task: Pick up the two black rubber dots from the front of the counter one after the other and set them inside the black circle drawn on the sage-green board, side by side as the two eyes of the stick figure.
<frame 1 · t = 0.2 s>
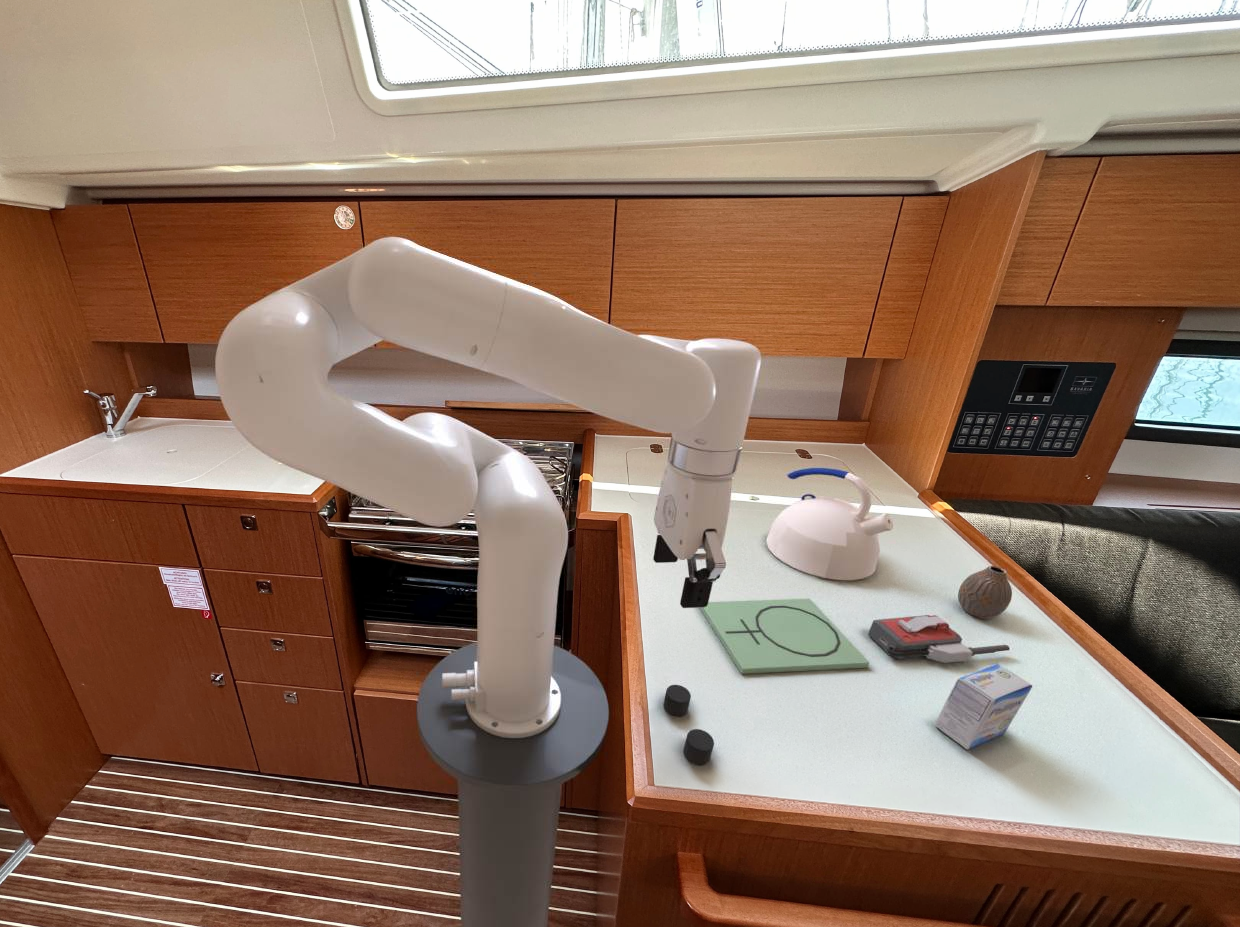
hand: (678, 582, 70), 18 cm above the worktop, tool pointing down, fingers open, 9 cm apart
drawing board: (777, 635, 90), on the worktop
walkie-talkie: (931, 646, 89), on the worktop
kettle: (819, 554, 114), on the worktop
medicine box: (967, 730, 74), on the worktop
eye dot b: (675, 707, 76), on the worktop
eye dot a: (696, 754, 69), on the worktop
vase: (975, 612, 98), on the worktop
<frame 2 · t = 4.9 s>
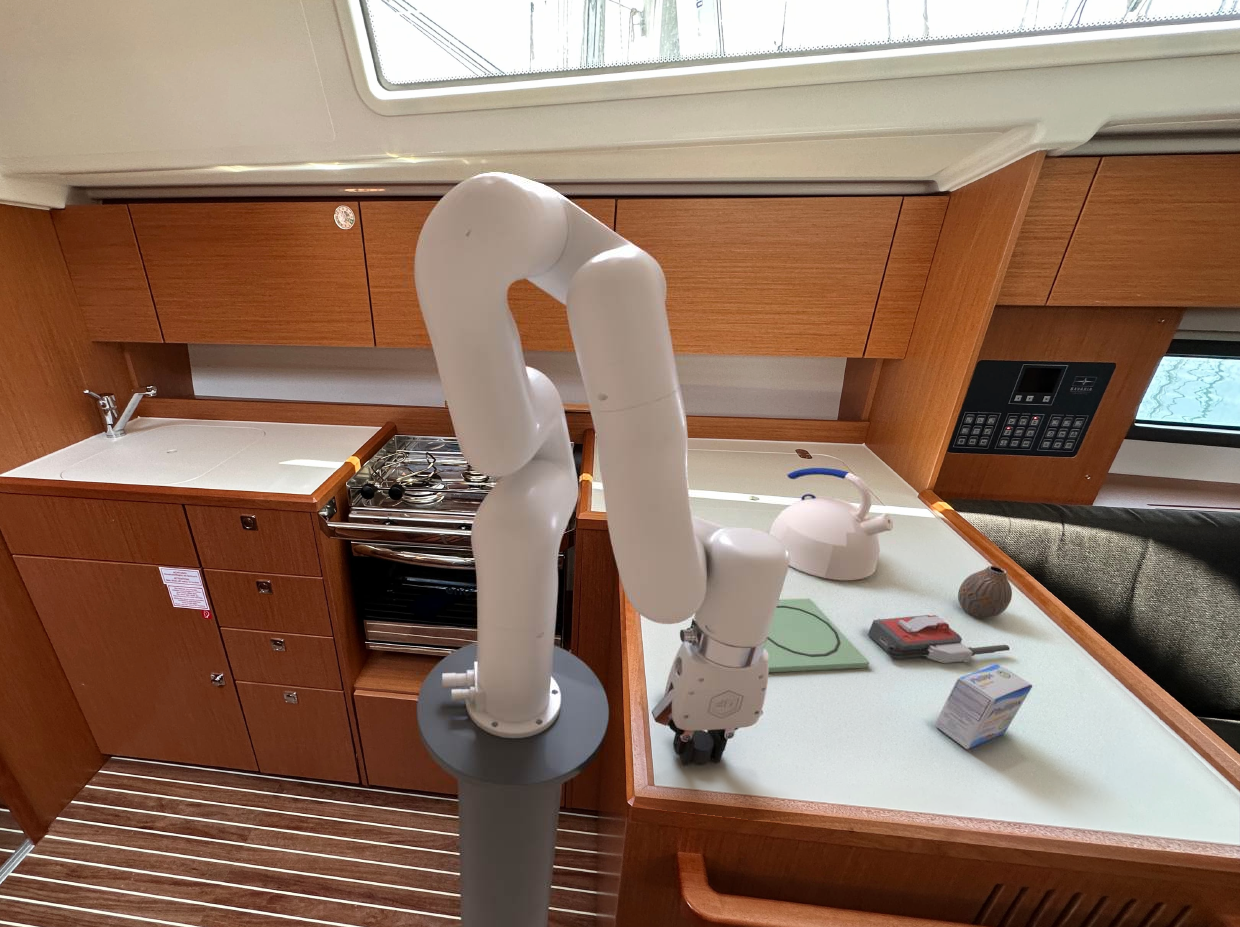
hand: (697, 753, 69), 0 cm above the worktop, tool pointing down, fingers closed on eye dot a, 3 cm apart
eye dot a: (696, 754, 69), on the worktop, touching gripper
everything else where it was.
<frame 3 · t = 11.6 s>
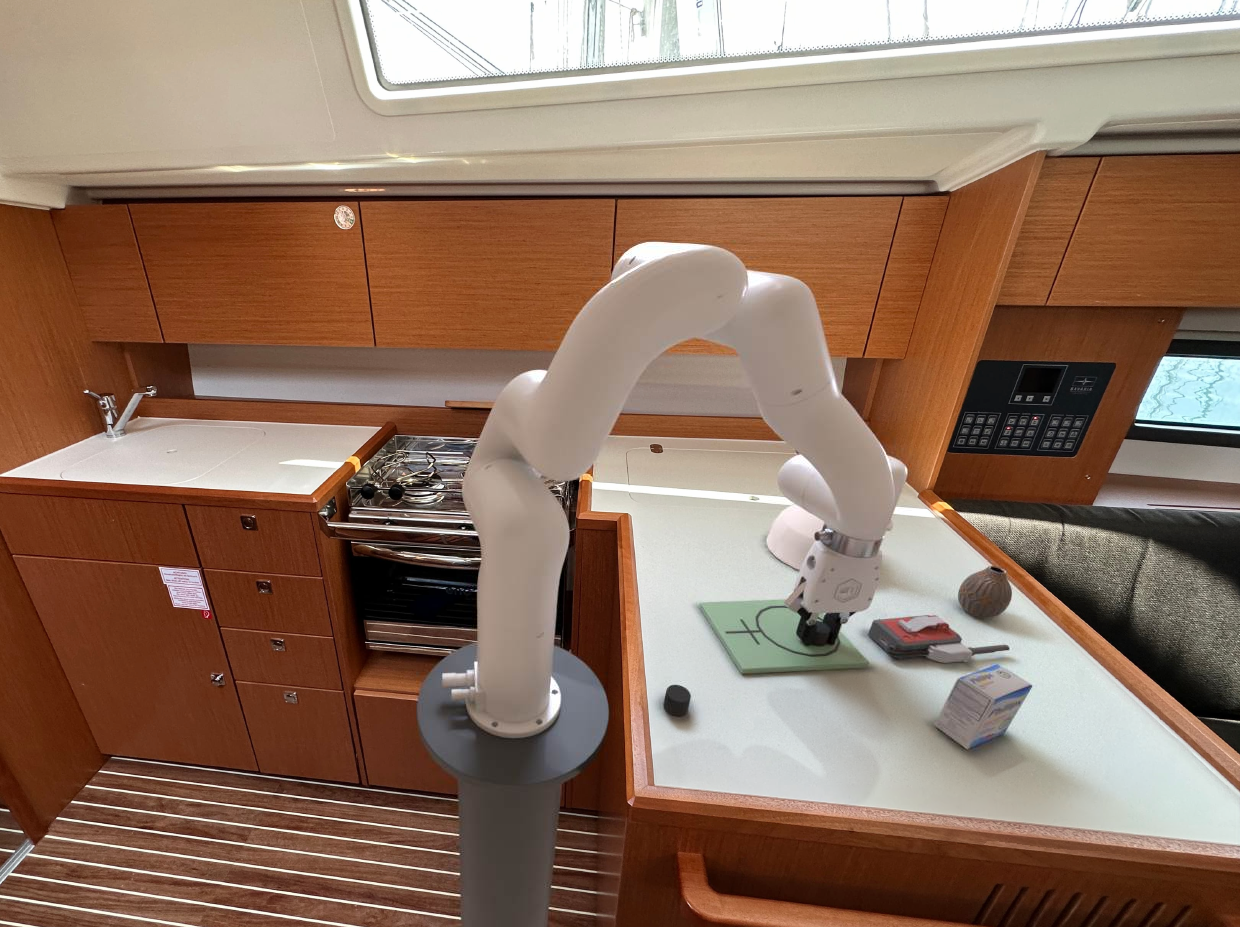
hand: (814, 638, 88), 1 cm above the worktop, tool pointing down, fingers closed on eye dot a, 3 cm apart
eye dot a: (814, 639, 88), point 1 cm above the worktop, touching gripper
everything else where it was.
when the fingers open (2 cm above the worktop, at t = 16.0 s): eye dot a drops 1 cm, resting on drawing board.
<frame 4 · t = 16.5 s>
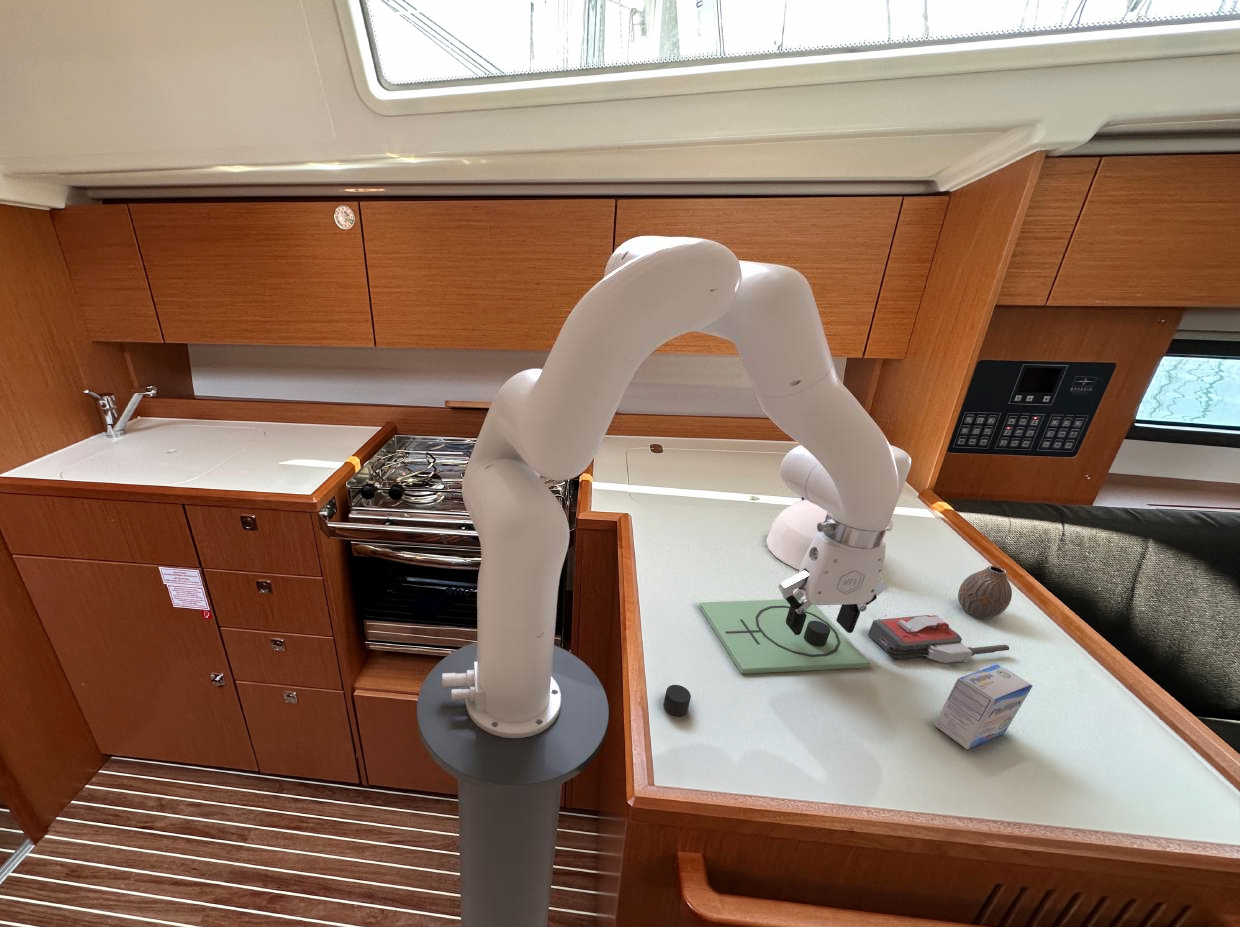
hand: (818, 627, 87), 3 cm above the worktop, tool pointing down, fingers open, 8 cm apart
eye dot a: (814, 640, 88), point 1 cm above the worktop, touching drawing board
everything else where it was.
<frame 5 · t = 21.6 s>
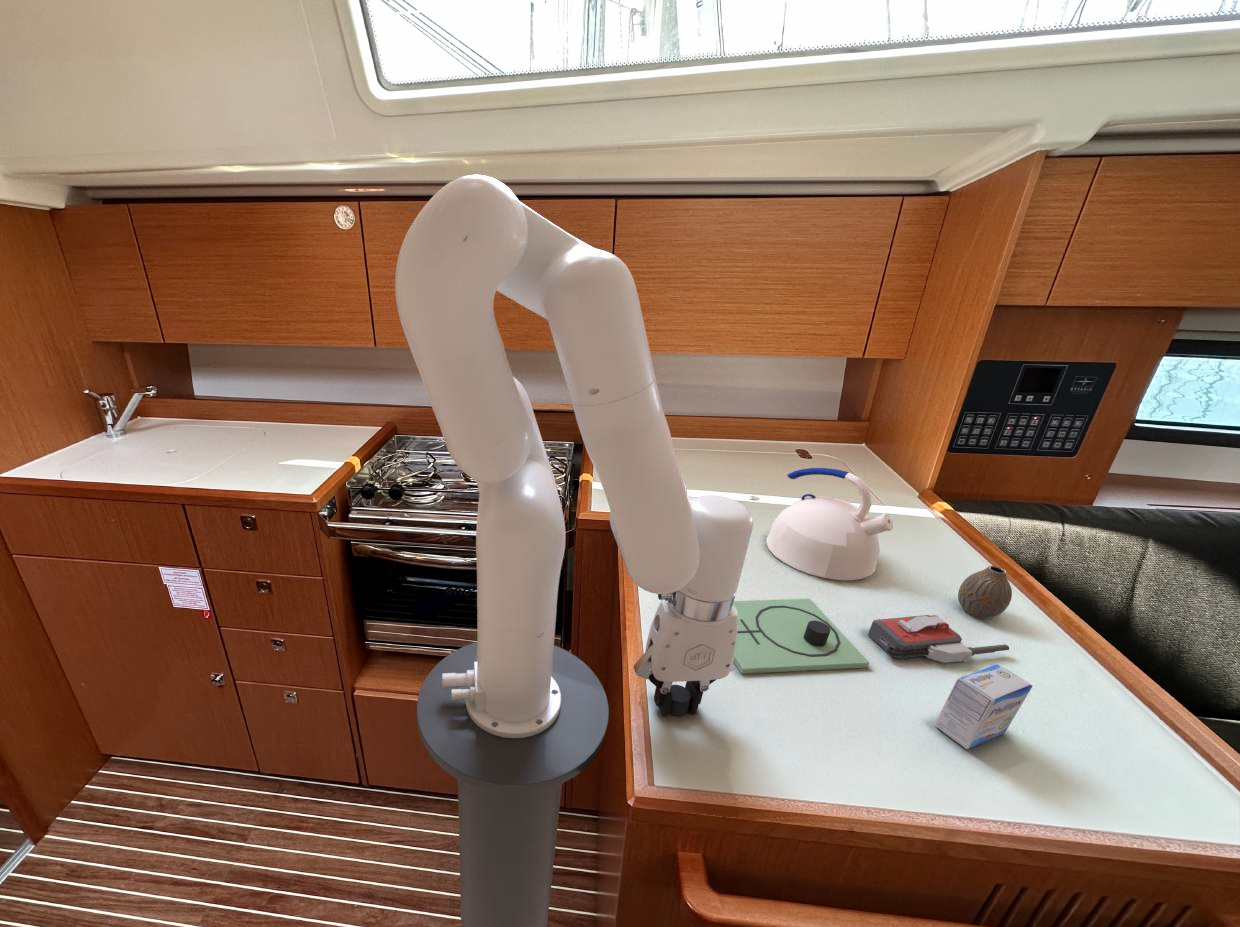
hand: (675, 706, 75), 0 cm above the worktop, tool pointing down, fingers closed on eye dot b, 3 cm apart
eye dot b: (675, 707, 76), on the worktop, touching gripper
everything else where it was.
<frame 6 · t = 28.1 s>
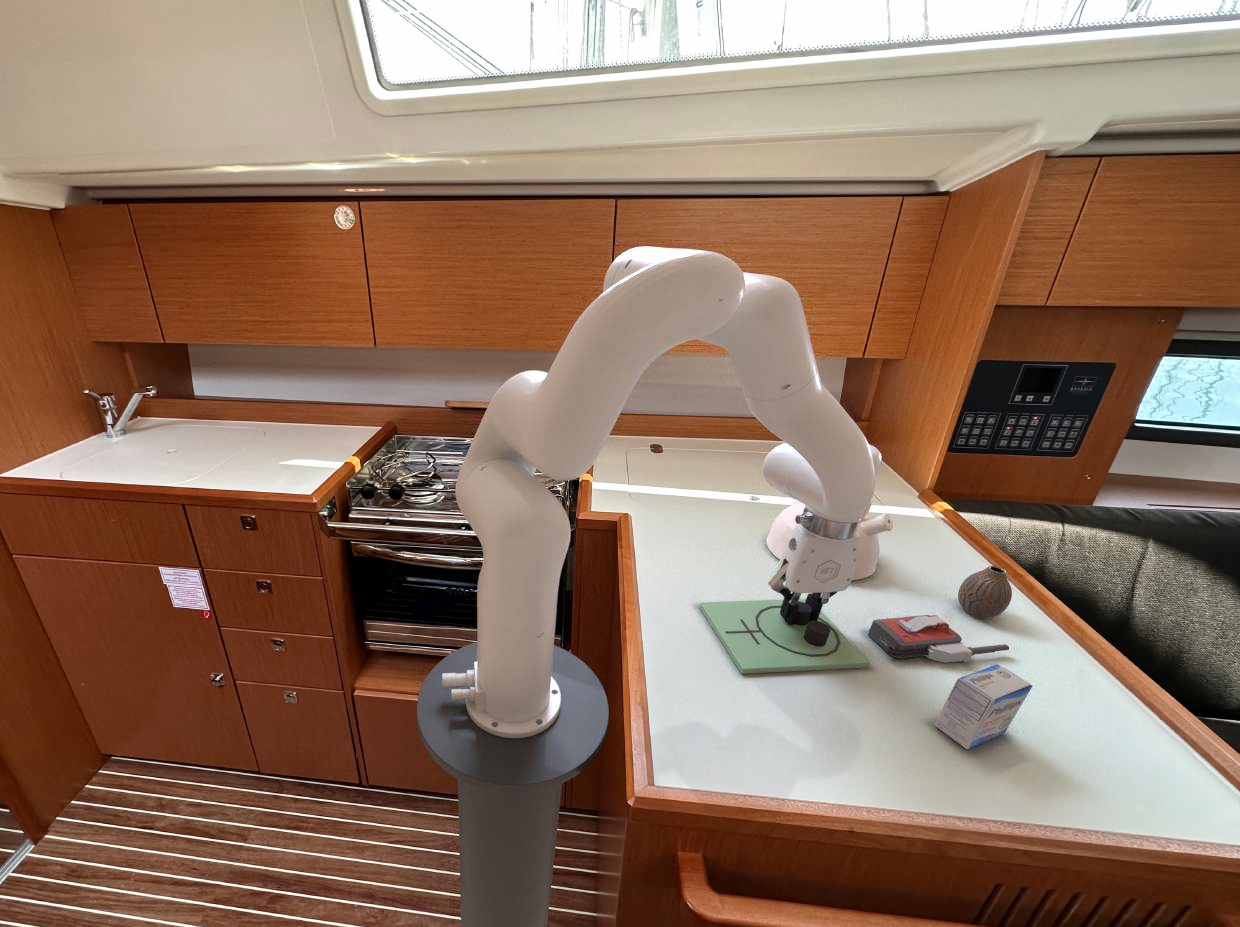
hand: (797, 618, 92), 1 cm above the worktop, tool pointing down, fingers closed on eye dot b, 3 cm apart
eye dot b: (797, 619, 92), point 1 cm above the worktop, touching gripper
everything else where it was.
when the fingers open (3 cm above the worktop, at t = 32.6 s): eye dot b drops 1 cm, resting on drawing board.
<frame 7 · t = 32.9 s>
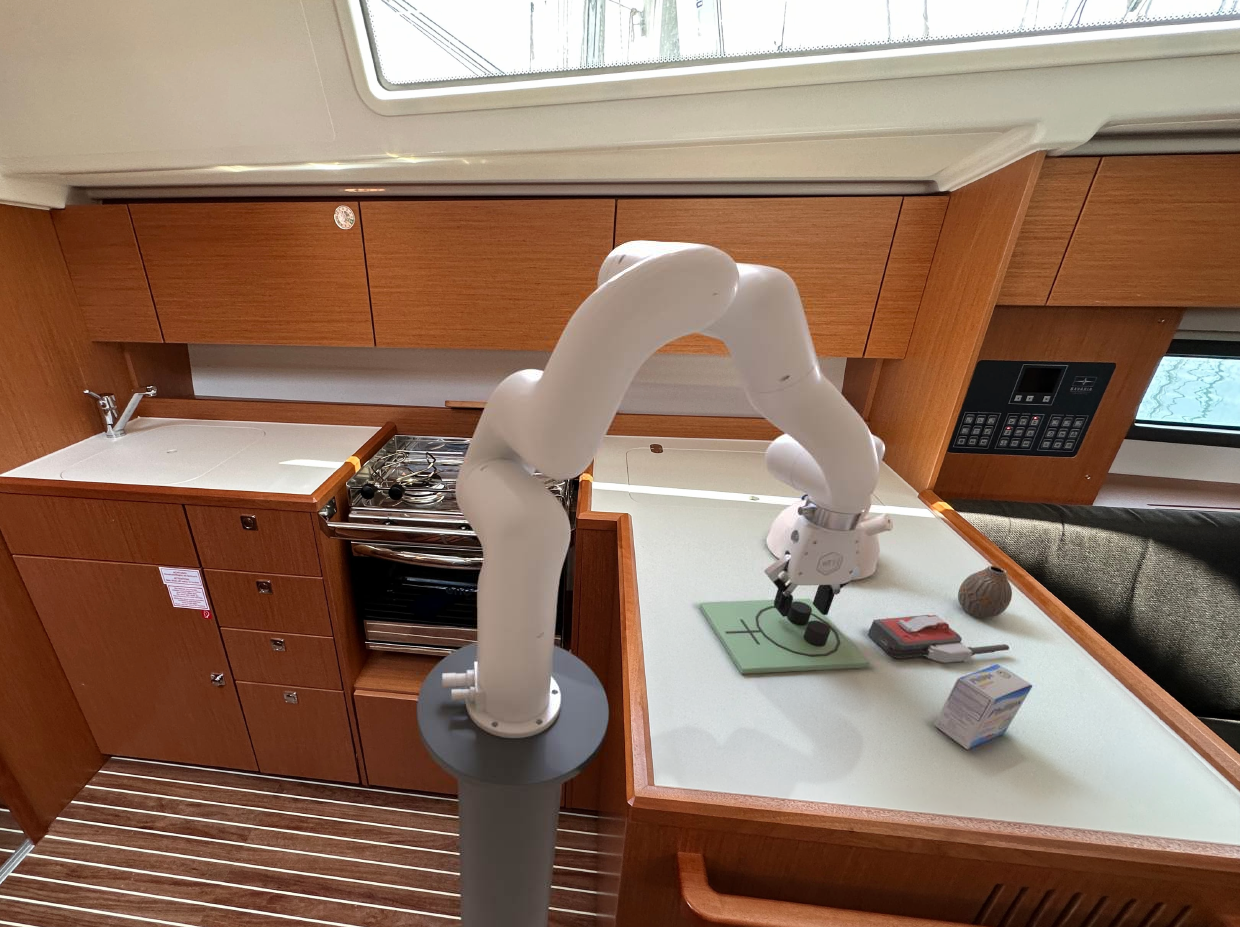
hand: (800, 609, 91), 3 cm above the worktop, tool pointing down, fingers open, 6 cm apart
eye dot b: (797, 619, 92), point 1 cm above the worktop, touching drawing board
everything else where it was.
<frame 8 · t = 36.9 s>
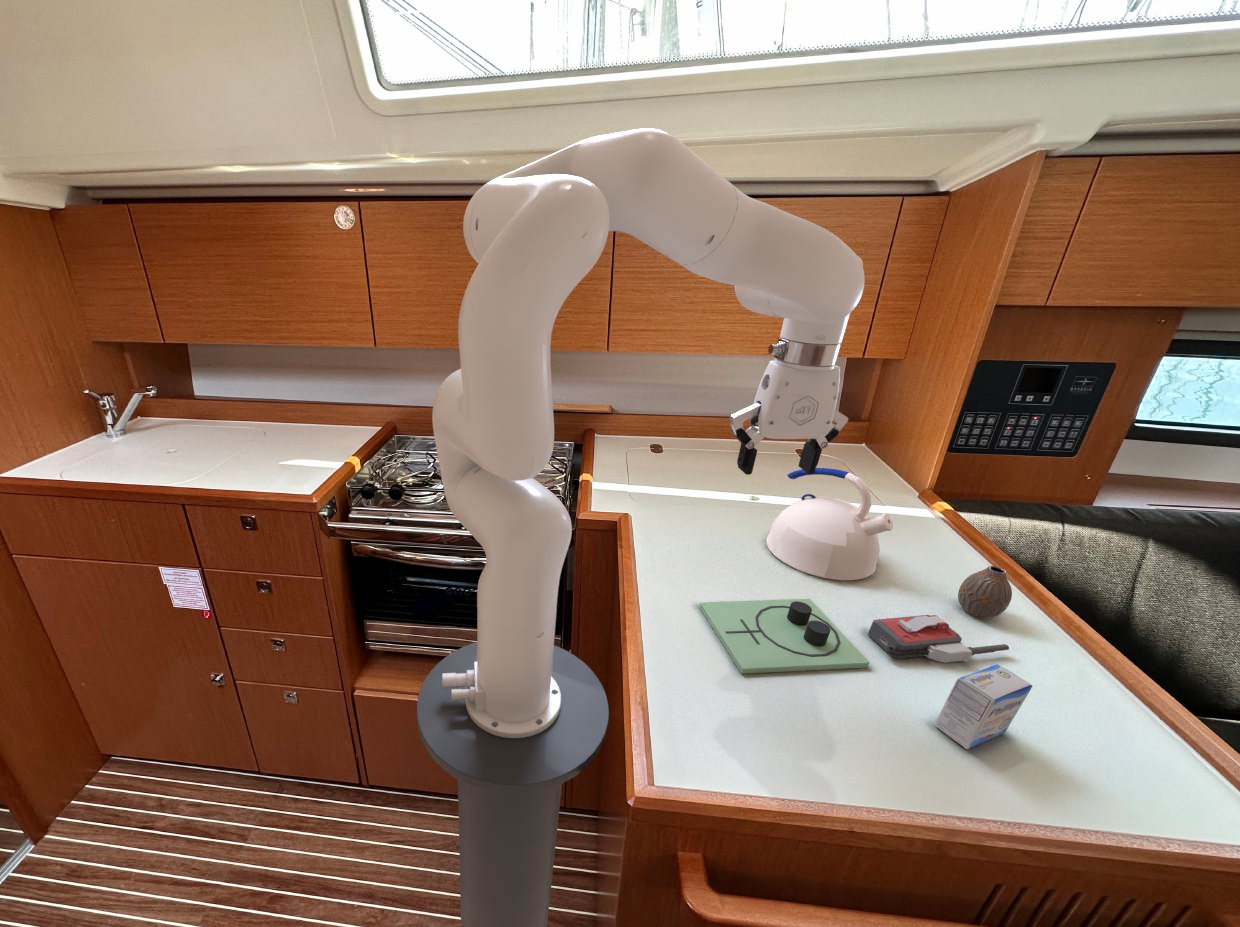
hand: (775, 470, 83), 26 cm above the worktop, tool pointing down, fingers open, 9 cm apart
nothing on the worktop moved.
at the end: eye dot a 0.3 cm from the target spot on the drawing board, point 1.0 cm above the drawing board's base; eye dot b 0.4 cm from the target spot on the drawing board, point 1.0 cm above the drawing board's base; eye dot b tilted 0° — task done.
